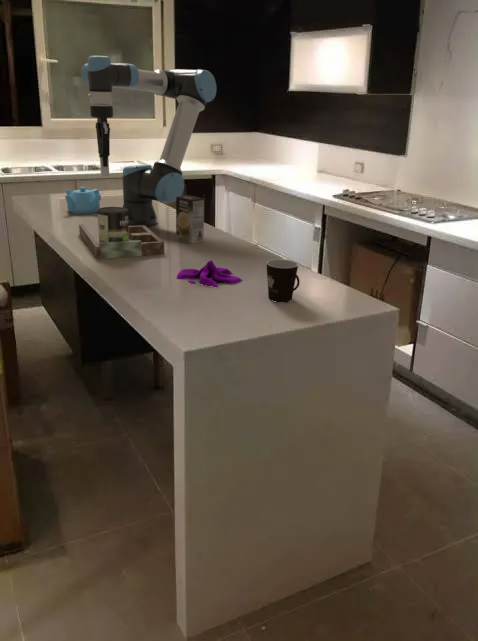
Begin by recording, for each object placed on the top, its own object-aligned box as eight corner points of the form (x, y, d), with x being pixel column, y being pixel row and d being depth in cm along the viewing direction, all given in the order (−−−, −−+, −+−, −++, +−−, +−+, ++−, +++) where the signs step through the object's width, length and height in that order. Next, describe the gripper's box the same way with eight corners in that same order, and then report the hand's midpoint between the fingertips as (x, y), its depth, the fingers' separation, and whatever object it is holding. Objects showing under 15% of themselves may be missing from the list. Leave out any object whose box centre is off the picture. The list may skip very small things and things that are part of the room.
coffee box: (175, 239, 230) (174, 196, 224) (187, 237, 235) (187, 194, 229) (191, 244, 224) (192, 199, 219) (204, 241, 229) (205, 198, 223)
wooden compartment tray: (139, 231, 241) (139, 218, 239) (164, 254, 210) (164, 239, 208) (79, 234, 232) (78, 221, 231) (96, 259, 201) (95, 244, 200)
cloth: (167, 274, 190) (167, 254, 188) (222, 268, 198) (222, 249, 196) (195, 295, 172) (195, 274, 170) (254, 288, 180) (255, 268, 177)
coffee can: (134, 248, 216) (133, 207, 211) (122, 255, 207) (121, 213, 202) (106, 245, 218) (104, 205, 213) (93, 252, 209) (91, 211, 204)
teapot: (102, 215, 268) (100, 189, 264) (66, 215, 265) (64, 190, 261) (101, 208, 282) (100, 184, 278) (67, 208, 279) (65, 184, 275)
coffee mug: (262, 293, 174) (264, 259, 170) (293, 293, 174) (295, 259, 171) (268, 307, 163) (270, 271, 159) (300, 307, 164) (303, 271, 160)
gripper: (86, 104, 214) (91, 173, 223) (93, 106, 203) (97, 178, 212) (108, 104, 217) (111, 172, 226) (116, 106, 206) (119, 178, 214)
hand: (105, 175), depth 219 cm, fingers closed
